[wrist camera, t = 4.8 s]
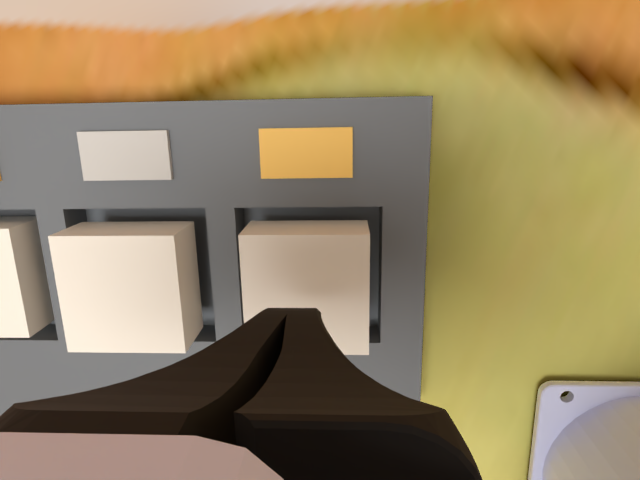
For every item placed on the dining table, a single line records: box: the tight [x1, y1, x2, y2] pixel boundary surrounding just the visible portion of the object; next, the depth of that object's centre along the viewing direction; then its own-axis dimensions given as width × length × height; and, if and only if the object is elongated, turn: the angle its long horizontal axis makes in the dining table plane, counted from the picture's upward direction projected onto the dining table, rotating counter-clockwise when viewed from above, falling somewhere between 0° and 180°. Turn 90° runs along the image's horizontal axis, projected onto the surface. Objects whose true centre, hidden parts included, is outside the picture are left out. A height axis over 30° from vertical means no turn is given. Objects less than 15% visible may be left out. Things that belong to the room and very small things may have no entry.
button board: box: [0, 96, 433, 416], centre depth 18 cm, size 20×12×2 cm, turn 91°
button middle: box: [48, 221, 203, 353], centre depth 16 cm, size 4×4×2 cm
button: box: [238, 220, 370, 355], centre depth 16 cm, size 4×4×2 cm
